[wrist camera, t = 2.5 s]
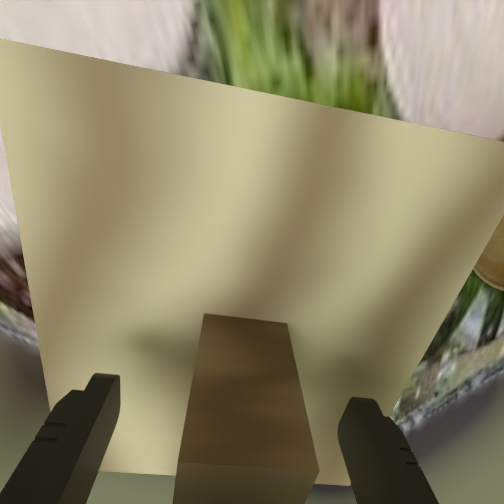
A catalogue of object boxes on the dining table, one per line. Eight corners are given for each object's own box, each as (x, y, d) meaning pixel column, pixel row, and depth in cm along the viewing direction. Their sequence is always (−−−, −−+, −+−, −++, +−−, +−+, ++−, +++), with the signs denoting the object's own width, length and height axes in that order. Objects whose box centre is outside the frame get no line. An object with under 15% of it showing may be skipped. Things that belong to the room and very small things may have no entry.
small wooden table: (377, 128, 21) (876, 193, 4) (306, 339, 29) (392, 632, 13) (136, 80, 19) (-492, -104, 3) (134, 320, 27) (-22, 632, 11)
